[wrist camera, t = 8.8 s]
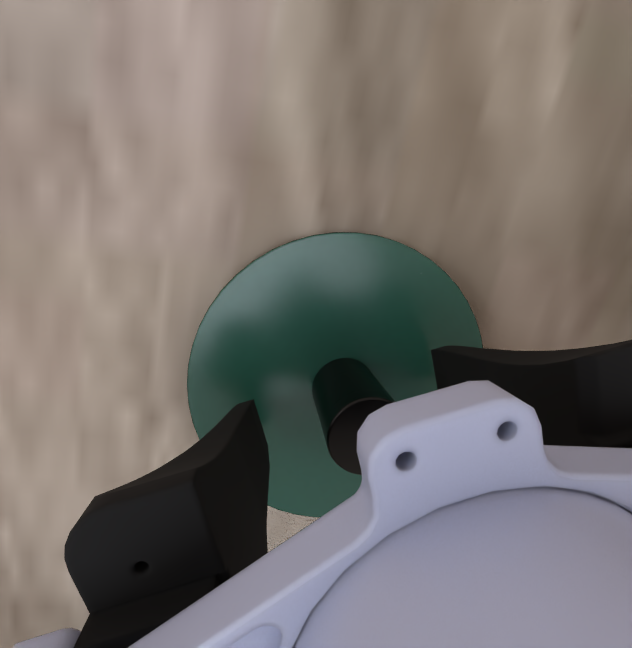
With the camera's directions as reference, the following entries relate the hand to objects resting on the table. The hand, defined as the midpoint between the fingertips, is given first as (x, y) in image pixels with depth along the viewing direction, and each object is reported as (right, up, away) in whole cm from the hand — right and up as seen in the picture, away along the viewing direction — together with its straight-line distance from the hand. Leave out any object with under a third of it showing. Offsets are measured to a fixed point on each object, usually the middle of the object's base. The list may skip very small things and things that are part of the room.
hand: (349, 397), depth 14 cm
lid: (0, 0, +1) cm, 1 cm away
